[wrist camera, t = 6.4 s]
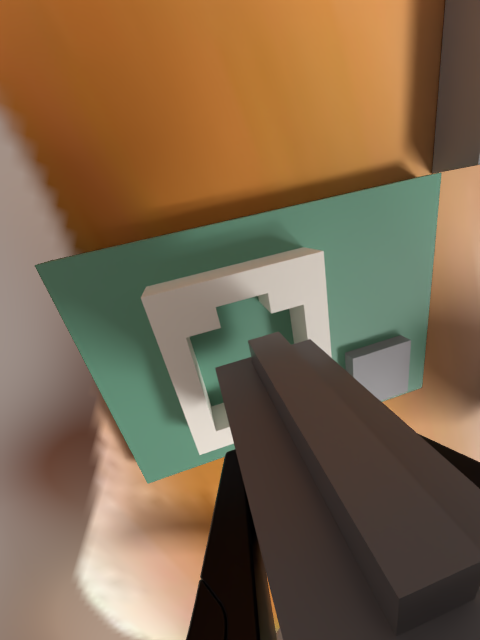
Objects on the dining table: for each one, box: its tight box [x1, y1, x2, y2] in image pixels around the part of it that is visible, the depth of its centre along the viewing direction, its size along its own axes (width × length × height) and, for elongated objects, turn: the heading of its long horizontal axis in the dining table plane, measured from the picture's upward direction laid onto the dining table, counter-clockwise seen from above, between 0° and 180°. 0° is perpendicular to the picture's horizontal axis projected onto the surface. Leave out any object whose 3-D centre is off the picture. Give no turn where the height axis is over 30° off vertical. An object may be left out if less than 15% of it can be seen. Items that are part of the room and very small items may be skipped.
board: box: [35, 173, 441, 483], centre depth 15 cm, size 20×14×4 cm
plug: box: [215, 332, 480, 640], centre depth 7 cm, size 4×5×8 cm
